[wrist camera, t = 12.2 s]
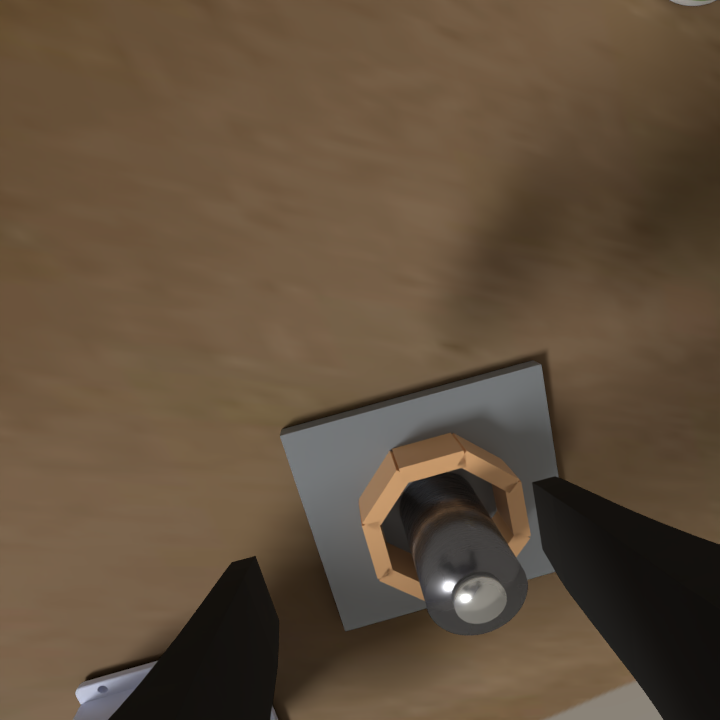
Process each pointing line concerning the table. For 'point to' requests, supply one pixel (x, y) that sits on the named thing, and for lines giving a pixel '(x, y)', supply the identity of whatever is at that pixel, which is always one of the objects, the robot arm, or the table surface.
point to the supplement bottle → (692, 2)
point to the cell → (460, 556)
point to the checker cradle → (414, 462)
